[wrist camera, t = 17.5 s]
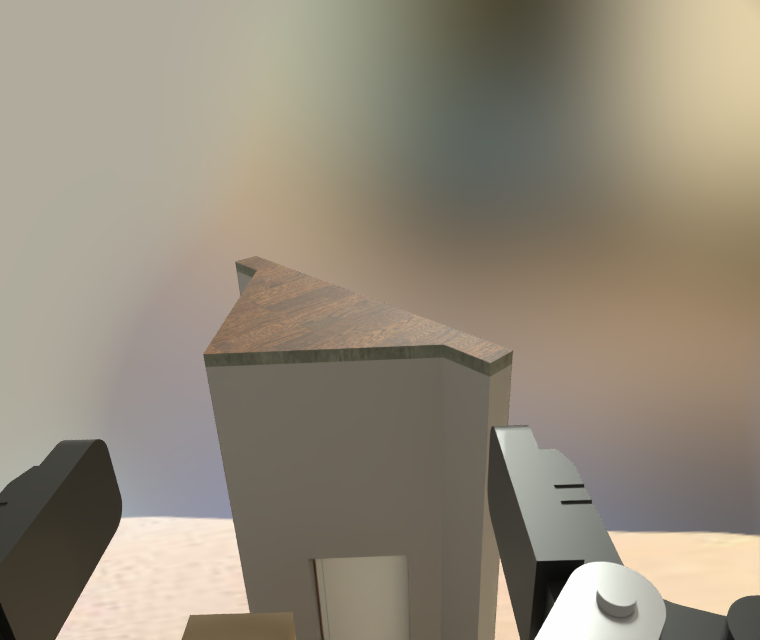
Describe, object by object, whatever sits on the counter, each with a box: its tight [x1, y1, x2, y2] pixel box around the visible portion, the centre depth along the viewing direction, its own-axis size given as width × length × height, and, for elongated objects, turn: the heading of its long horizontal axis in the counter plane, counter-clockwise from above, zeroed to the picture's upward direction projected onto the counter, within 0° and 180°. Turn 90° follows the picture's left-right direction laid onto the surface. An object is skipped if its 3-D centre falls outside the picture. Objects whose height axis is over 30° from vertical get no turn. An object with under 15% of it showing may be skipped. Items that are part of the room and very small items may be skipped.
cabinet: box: [203, 256, 513, 640], centre depth 35 cm, size 21×10×28 cm, turn 43°
